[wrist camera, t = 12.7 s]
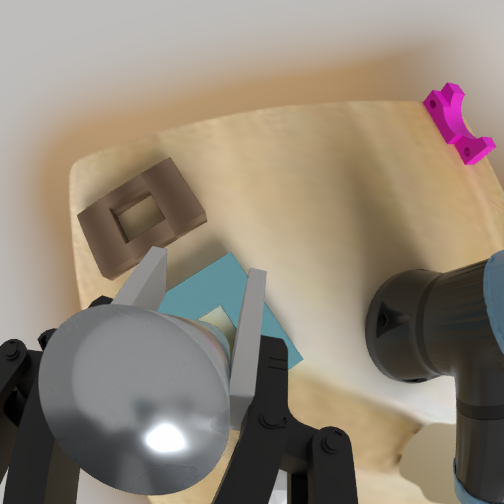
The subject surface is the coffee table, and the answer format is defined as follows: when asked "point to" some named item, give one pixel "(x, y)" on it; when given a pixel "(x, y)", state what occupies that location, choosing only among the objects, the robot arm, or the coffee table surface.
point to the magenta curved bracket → (456, 124)
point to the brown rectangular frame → (173, 227)
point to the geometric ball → (279, 489)
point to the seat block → (221, 299)
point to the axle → (138, 396)
